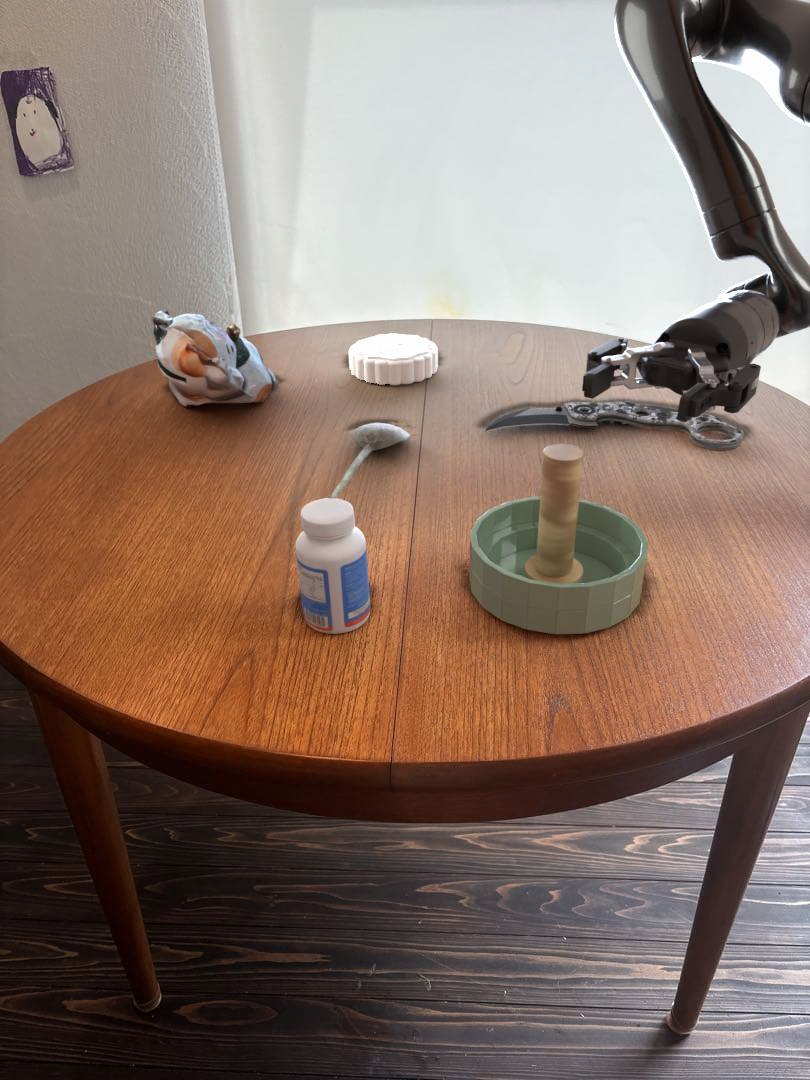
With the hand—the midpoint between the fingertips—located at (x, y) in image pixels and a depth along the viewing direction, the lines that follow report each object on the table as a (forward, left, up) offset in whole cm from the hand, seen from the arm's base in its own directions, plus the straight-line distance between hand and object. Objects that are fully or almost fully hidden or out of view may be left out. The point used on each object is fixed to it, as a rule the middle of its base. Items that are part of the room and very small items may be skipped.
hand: (633, 398), depth 72 cm
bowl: (+7, +8, -14) cm, 17 cm away
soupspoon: (+24, -14, -14) cm, 31 cm away
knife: (-5, -24, -14) cm, 28 cm away
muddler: (+7, +8, -13) cm, 17 cm away
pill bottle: (+25, +11, -14) cm, 31 cm away
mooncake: (+20, -45, -14) cm, 51 cm away
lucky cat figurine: (+42, -36, -14) cm, 57 cm away
